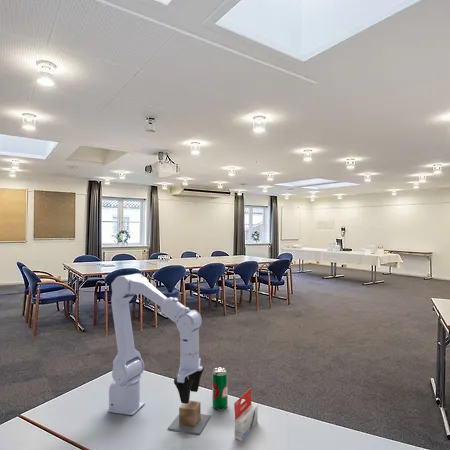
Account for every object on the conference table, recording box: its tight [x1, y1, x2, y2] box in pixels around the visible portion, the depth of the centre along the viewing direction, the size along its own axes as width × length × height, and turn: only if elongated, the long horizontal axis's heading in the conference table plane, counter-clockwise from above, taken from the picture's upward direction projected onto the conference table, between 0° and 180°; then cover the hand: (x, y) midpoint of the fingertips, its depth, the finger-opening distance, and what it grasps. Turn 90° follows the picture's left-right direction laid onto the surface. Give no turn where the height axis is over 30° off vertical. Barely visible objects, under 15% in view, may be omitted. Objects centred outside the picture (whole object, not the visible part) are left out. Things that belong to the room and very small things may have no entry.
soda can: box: [211, 367, 229, 410], centre depth 112 cm, size 5×5×12 cm
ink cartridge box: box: [233, 388, 259, 442], centre depth 98 cm, size 2×11×10 cm, turn 151°
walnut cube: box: [178, 399, 202, 427], centre depth 102 cm, size 5×5×5 cm
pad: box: [167, 413, 212, 435], centre depth 102 cm, size 10×10×1 cm
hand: (189, 396), depth 102 cm, fingers open, 7 cm apart
